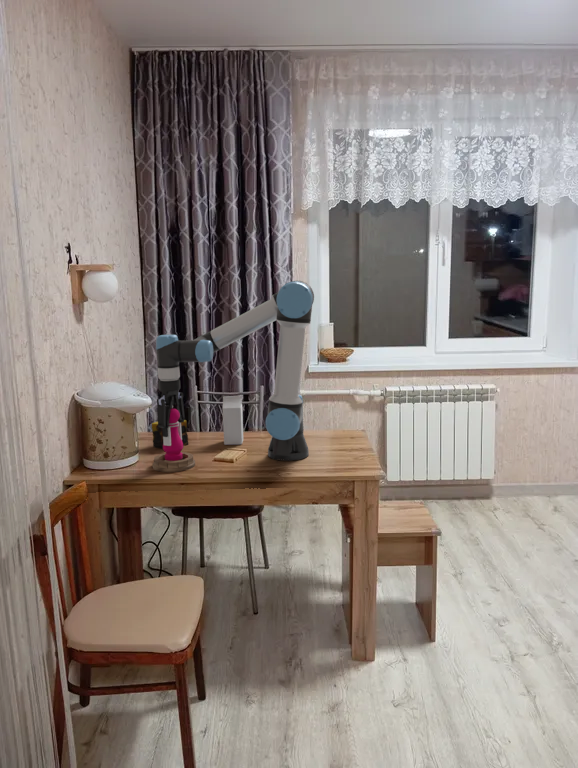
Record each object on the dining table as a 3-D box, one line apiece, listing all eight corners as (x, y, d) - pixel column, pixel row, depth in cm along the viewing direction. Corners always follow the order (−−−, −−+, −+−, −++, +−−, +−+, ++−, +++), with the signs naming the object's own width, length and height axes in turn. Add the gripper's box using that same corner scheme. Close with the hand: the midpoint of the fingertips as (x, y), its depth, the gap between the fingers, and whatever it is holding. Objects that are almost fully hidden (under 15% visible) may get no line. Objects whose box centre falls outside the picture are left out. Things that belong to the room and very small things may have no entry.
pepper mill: (179, 461, 240) (176, 406, 236) (160, 461, 241) (156, 406, 238) (186, 456, 247) (183, 402, 243) (168, 455, 248) (164, 401, 245)
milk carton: (242, 444, 270) (240, 397, 267) (224, 445, 270) (222, 398, 267) (243, 440, 277) (241, 394, 274) (226, 440, 277) (224, 394, 274)
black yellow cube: (189, 444, 273) (187, 420, 271) (171, 450, 264) (170, 425, 263) (169, 441, 278) (168, 417, 276) (152, 447, 270) (151, 422, 268)
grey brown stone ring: (202, 461, 248) (202, 453, 248) (180, 473, 235) (180, 465, 234) (167, 458, 254) (167, 449, 253) (144, 469, 240) (143, 461, 240)
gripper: (174, 374, 249) (178, 435, 253) (144, 383, 231) (148, 449, 236) (192, 374, 246) (195, 436, 250) (162, 384, 228) (167, 450, 233)
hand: (172, 442), depth 243 cm, fingers closed on pepper mill, 6 cm apart
